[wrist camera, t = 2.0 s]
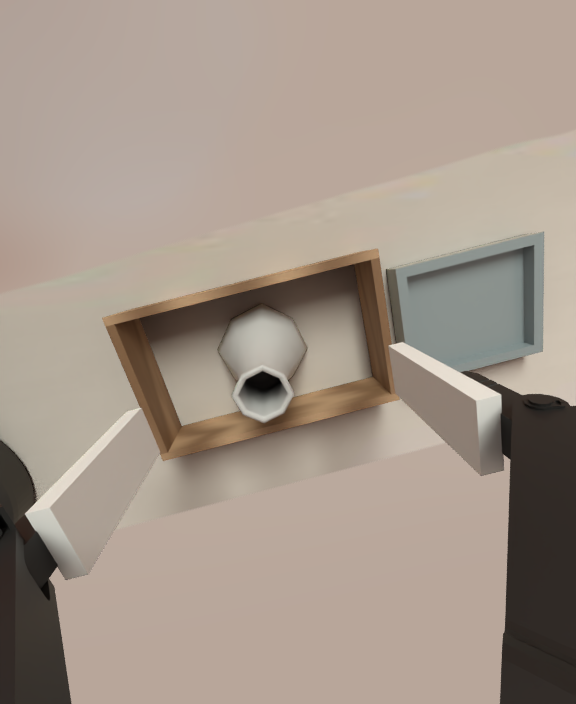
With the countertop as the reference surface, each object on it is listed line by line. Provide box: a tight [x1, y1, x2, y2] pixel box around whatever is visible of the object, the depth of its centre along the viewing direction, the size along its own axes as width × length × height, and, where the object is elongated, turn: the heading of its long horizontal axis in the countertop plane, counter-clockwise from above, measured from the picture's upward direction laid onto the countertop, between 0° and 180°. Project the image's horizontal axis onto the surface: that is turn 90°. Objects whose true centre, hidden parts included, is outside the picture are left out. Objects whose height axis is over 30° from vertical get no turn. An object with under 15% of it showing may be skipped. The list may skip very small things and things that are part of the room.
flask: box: [218, 304, 307, 423], centre depth 21 cm, size 7×7×10 cm
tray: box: [386, 232, 544, 372], centre depth 25 cm, size 12×10×2 cm
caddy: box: [102, 249, 400, 461], centre depth 23 cm, size 19×12×4 cm, turn 104°
